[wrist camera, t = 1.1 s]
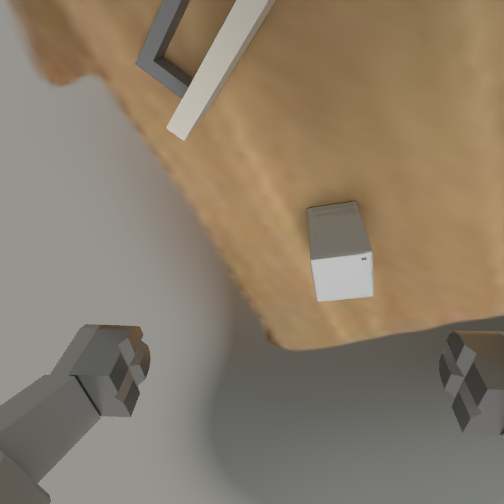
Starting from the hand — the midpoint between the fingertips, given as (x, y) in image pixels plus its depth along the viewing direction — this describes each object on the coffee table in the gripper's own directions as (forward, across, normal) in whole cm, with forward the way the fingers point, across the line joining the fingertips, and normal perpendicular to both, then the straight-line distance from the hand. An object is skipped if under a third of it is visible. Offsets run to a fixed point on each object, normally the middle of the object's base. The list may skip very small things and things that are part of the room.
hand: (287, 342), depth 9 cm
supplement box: (+39, -7, +20) cm, 45 cm away
